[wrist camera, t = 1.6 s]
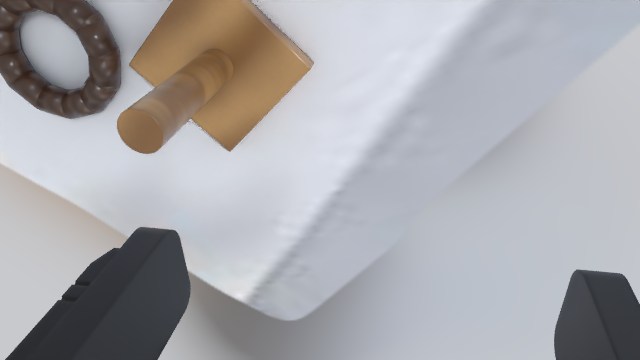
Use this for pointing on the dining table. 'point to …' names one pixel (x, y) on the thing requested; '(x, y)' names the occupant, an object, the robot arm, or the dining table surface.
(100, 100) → the ring
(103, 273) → the robot arm
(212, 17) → the post
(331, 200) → the dining table surface
